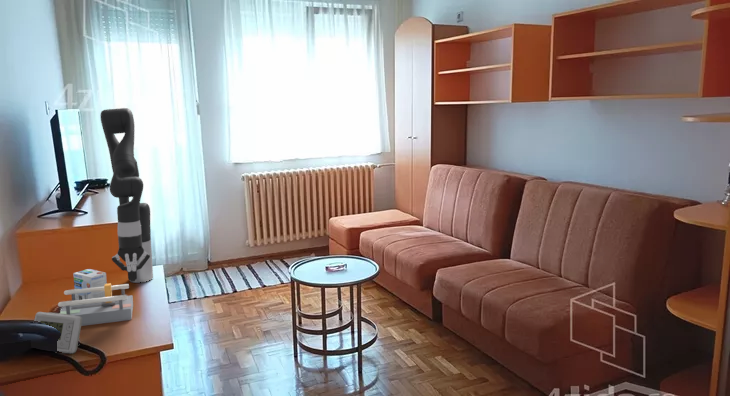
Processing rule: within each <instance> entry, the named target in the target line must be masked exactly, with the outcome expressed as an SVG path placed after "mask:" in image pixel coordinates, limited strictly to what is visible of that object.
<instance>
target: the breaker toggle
mask: <svg viewBox="0 0 730 396" xmlns="http://www.w3.org/2000/svg"><path fill="white" fill-rule="evenodd" d="M111 286H112V283H111V282H110V283H107V284H105V285H104V290H105V297H111V296H113V290H112V288H111ZM115 302H116V301H109V302H103V303H102V306H109V305H115Z"/></svg>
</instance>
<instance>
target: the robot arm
mask: <svg viewBox="0 0 730 396" xmlns="http://www.w3.org/2000/svg"><path fill="white" fill-rule="evenodd" d="M100 123H101V126H102V130H103V133H104V137H105V140H106V144H107V147H108V153H109V158H110V163H111V170H112V177H111V181H110V184H109V192H110V195H111V196H113V197H114V198H118V203H119V205H118V206H117V207H116V212H117V213H116V214H117V238H118V239H117V241H118V249H117V253H116V254H115V255H113V256H112V257H111V261H112V262H113V263H114V264H115V265H116V266H117V267H118V268H119V269H121V271H124V272H127V279H128V281H129V282H130V283H138V284H139V283H140V282H141V283H147V282H149V280H150V281H152V280H153V279H154V270H153V269H154V267H153V251H152V238H151V236H152V235H151V233H152V232H151V231H152V229H151V207H150V205H149V204H148V202H141V199H142V194H143V190H144V181H143V180H142V178H140V173H139V166H138V162H137V159H136V158H135V152H134V150H135V120H134V114H133V112H132V110H131V109H130V108H125V107H121V108H109V109H107V108H106V109H103V110H101V112H100ZM117 134H124V135H123V137H122V139H121V140H120V142H119V141H118V139H117V137H116V135H117ZM130 198H131V200H130ZM120 259H121V260H123V262H125V264H124V263H123V262H122V261H121V260H120ZM152 278H153V279H152ZM151 279H152V280H151ZM146 281H147V282H146Z"/></svg>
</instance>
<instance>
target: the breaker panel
mask: <svg viewBox="0 0 730 396" xmlns="http://www.w3.org/2000/svg"><path fill="white" fill-rule="evenodd" d="M111 288H112V291H115V290H121V294H120V295H112V296H111V297H102V298H93V299H84V300H76V298H75V294H80V293H89V292H99V291H105V290H104V287H94V288H84V289H75V288H73V289H68V290H67V289H66V290H64V291H63V294H64V295H66V296H68V295H70V296H71V300H66V301H59V302H58V303H57V306H58V307H59V308H61V309H60V312H59V313H60V314H69V315H73V316H80V317H81V318H82V324H81V327H84V326H92V325H98V324H109V323H115V322H124V321H132V319H133V309H134V298H133V297H134V296H133V295H132V294H131V295H128V294H126V291H125V290H126V289H129V288H130V285H129V283H124V284H115V285H111ZM109 301H116V302H115V305H109V306H102V303H103V302H109Z"/></svg>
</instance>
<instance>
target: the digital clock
mask: <svg viewBox="0 0 730 396" xmlns="http://www.w3.org/2000/svg"><path fill="white" fill-rule="evenodd" d="M34 321H38V322H41V323H45V324H46V325H49V326H52V327H54V328H56V329H57V330H58V331H60V333H61V336H60V338H59V339H58V341H57V351H59V352H62V353H61V354H70V355H71V354H75V353H76V352H77V350H78V346H79V345H78V341H79V342H80V335H81V330H82V329H81V328H82V326H81V324H82V318H81V317H80V316H73V315H69V314H60V312H50V311H49V312H45V311H44V312H43V311H37V312H36V313H35V317H34V320H33V322H34ZM80 343H81V342H80Z"/></svg>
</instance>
